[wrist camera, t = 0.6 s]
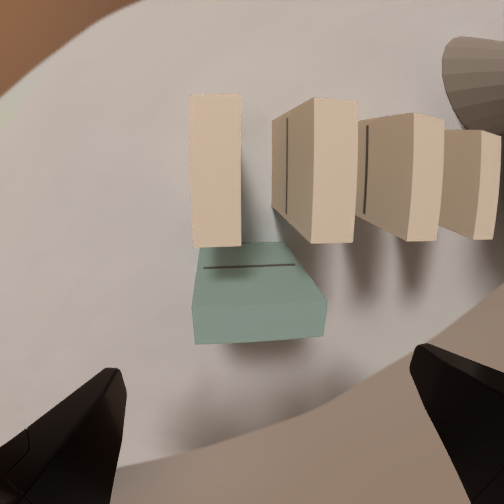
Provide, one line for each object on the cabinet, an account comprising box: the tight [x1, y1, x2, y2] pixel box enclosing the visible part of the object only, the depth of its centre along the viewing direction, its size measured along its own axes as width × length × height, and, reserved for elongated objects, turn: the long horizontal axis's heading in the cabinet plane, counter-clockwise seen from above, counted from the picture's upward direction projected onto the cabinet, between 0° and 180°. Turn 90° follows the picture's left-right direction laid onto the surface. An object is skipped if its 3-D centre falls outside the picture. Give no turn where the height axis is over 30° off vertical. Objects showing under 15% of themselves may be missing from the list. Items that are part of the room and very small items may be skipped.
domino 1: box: [190, 94, 241, 248], centre depth 14 cm, size 2×5×8 cm, turn 1°
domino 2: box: [192, 242, 327, 345], centre depth 15 cm, size 2×5×8 cm, turn 91°
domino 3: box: [272, 97, 358, 244], centre depth 14 cm, size 2×5×8 cm, turn 1°
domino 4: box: [355, 113, 444, 242], centre depth 14 cm, size 2×5×8 cm, turn 1°
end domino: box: [438, 130, 501, 240], centre depth 15 cm, size 2×5×8 cm, turn 1°
